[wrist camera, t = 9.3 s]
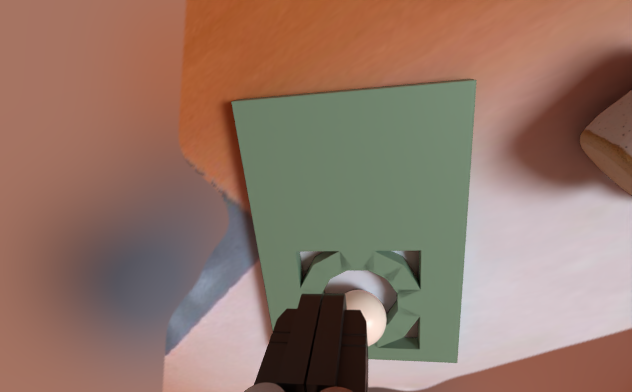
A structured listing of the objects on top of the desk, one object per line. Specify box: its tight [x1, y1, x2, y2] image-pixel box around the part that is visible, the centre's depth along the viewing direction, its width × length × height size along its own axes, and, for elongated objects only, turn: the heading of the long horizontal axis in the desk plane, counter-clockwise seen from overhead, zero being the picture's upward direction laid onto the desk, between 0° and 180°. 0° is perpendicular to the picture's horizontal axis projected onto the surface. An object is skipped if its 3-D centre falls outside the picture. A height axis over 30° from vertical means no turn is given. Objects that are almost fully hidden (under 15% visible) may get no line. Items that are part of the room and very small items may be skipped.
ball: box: [345, 290, 387, 346], centre depth 32 cm, size 5×5×5 cm
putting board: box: [231, 79, 476, 363], centre depth 31 cm, size 26×18×2 cm
